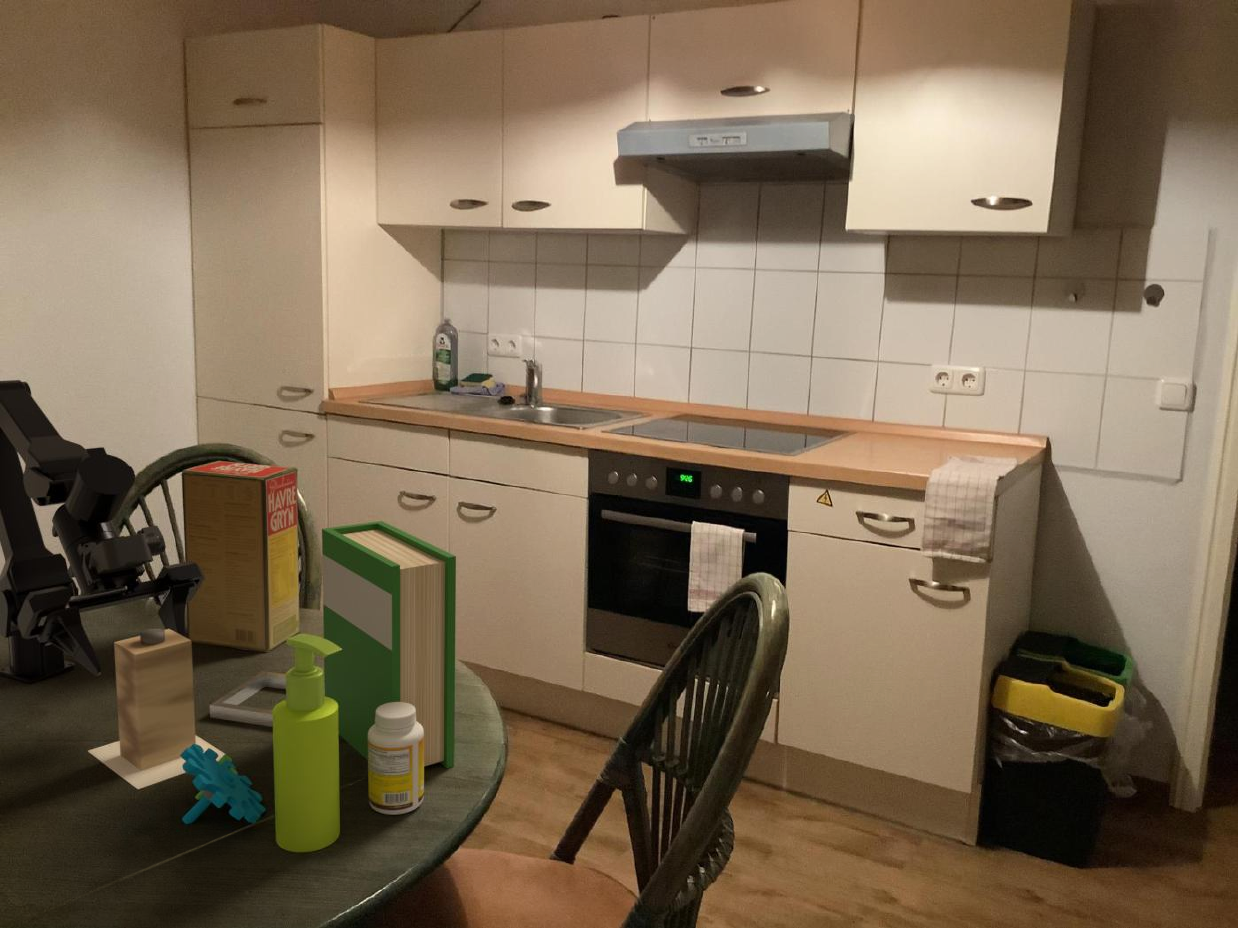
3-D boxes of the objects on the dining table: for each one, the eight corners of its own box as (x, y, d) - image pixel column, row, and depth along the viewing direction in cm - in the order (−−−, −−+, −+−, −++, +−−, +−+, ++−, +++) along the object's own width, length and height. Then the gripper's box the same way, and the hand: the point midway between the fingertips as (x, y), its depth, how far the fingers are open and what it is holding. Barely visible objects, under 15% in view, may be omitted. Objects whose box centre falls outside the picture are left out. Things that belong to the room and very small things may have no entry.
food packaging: (303, 631, 151) (300, 466, 147) (268, 653, 142) (263, 478, 138) (223, 621, 154) (218, 458, 150) (184, 642, 145) (176, 470, 141)
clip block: (120, 755, 111) (113, 633, 109) (174, 737, 116) (168, 620, 113) (141, 770, 108) (135, 645, 106) (196, 752, 113) (190, 631, 110)
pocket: (210, 719, 122) (209, 704, 121) (262, 684, 132) (262, 671, 132) (293, 731, 119) (293, 717, 119) (340, 695, 130) (339, 681, 129)
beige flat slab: (87, 753, 112) (87, 750, 112) (176, 725, 120) (176, 722, 120) (138, 791, 105) (137, 788, 104) (229, 759, 112) (229, 756, 112)
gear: (266, 826, 96) (184, 759, 94) (219, 875, 95) (135, 808, 93) (273, 784, 107) (199, 723, 105) (231, 828, 106) (156, 767, 104)
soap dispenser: (312, 863, 93) (308, 656, 90) (262, 839, 97) (256, 639, 93) (360, 834, 98) (358, 637, 95) (310, 813, 102) (307, 622, 98)
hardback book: (454, 766, 113) (456, 556, 108) (392, 784, 108) (391, 566, 103) (382, 709, 126) (381, 520, 122) (325, 724, 121) (321, 528, 117)
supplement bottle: (401, 783, 108) (400, 693, 106) (435, 802, 105) (435, 709, 103) (356, 803, 104) (355, 709, 102) (390, 823, 100) (390, 726, 99)
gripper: (19, 518, 105) (70, 647, 100) (193, 493, 119) (246, 605, 114) (-3, 576, 112) (44, 700, 107) (164, 546, 126) (213, 654, 121)
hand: (142, 662), depth 112 cm, fingers open, 9 cm apart
